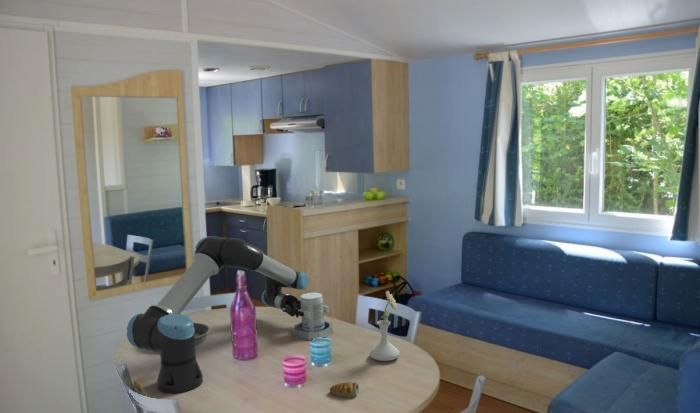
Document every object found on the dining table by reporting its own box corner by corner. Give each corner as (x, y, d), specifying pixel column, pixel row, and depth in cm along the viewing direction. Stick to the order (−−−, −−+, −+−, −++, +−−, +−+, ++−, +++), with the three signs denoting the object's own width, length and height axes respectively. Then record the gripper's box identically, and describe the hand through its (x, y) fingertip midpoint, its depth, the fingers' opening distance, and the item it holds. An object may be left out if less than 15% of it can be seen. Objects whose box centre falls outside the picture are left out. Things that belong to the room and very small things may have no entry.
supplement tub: (324, 324, 249) (323, 291, 247) (324, 332, 240) (322, 297, 238) (302, 325, 249) (300, 292, 247) (301, 333, 239) (299, 299, 238)
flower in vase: (390, 366, 206) (388, 298, 203) (363, 360, 212) (361, 295, 209) (407, 354, 217) (405, 289, 214) (381, 348, 223) (379, 286, 220)
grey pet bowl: (339, 333, 242) (339, 326, 242) (305, 342, 233) (305, 335, 233) (320, 324, 256) (320, 317, 255) (287, 331, 247) (287, 325, 247)
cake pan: (201, 351, 228) (200, 340, 227) (140, 353, 229) (139, 342, 228) (216, 331, 252) (216, 321, 252) (161, 332, 253) (160, 322, 252)
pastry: (328, 397, 183) (327, 386, 183) (332, 388, 190) (331, 377, 190) (357, 398, 182) (356, 387, 182) (360, 389, 189) (359, 378, 188)
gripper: (306, 305, 264) (339, 315, 248) (266, 316, 249) (298, 328, 233) (305, 289, 263) (338, 298, 247) (266, 300, 248) (297, 310, 232)
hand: (319, 312), depth 240 cm, fingers closed on supplement tub, 9 cm apart
